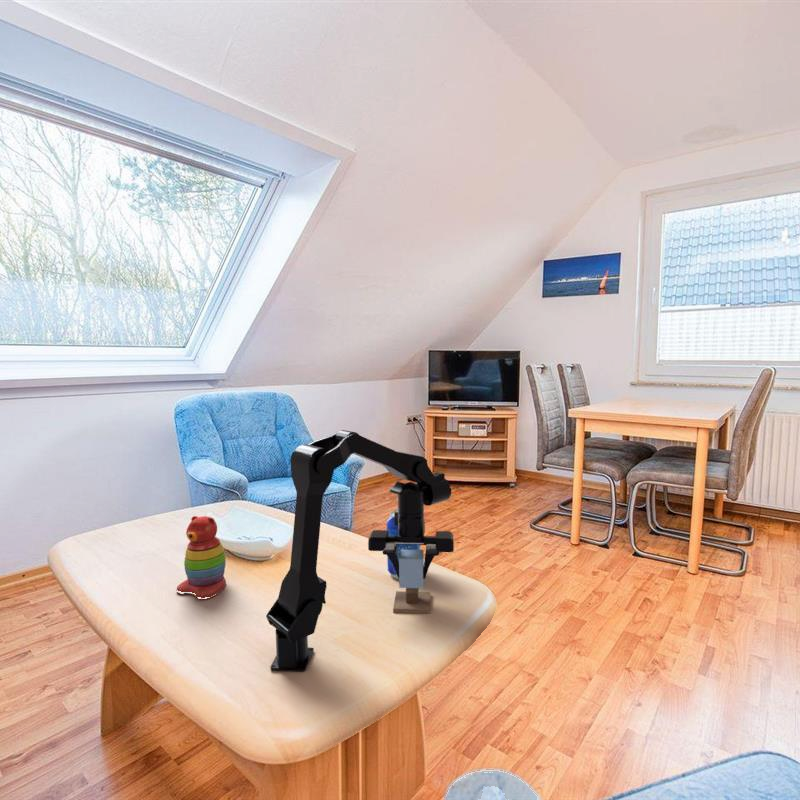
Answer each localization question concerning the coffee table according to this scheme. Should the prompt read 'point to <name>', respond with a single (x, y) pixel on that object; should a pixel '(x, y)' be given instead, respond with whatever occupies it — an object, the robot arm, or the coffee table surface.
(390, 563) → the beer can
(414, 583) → the pale blue foam brick
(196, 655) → the coffee table surface
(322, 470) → the robot arm
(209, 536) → the stacking bear
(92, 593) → the coffee table surface
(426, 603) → the brown square stand
